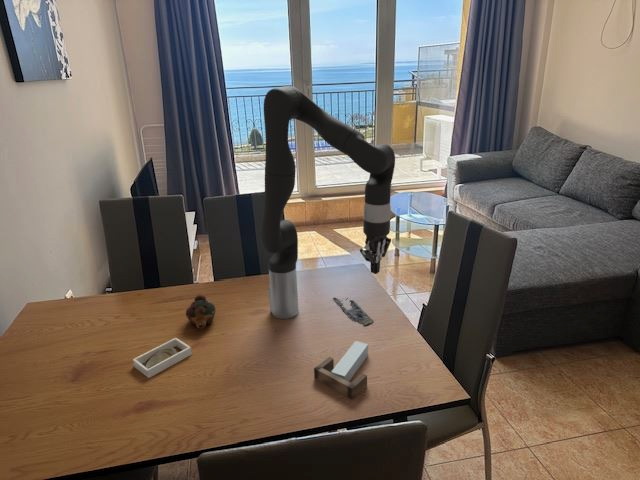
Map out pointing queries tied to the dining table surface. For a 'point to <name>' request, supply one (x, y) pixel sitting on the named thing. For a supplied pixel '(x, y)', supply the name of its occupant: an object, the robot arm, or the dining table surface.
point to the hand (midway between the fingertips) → (375, 272)
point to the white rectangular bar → (351, 361)
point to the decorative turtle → (200, 311)
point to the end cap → (339, 379)
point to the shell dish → (166, 363)
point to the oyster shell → (160, 356)
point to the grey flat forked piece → (355, 313)
